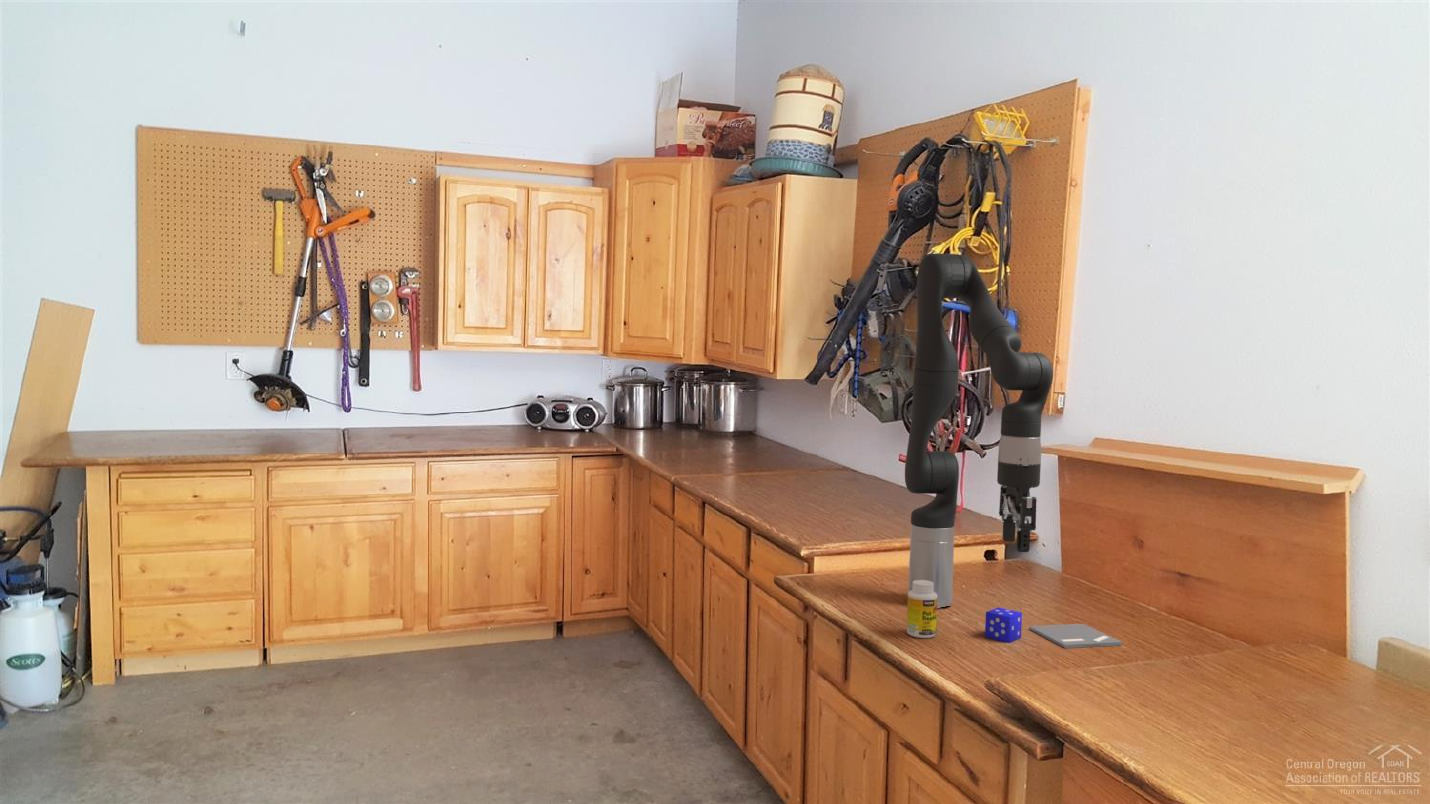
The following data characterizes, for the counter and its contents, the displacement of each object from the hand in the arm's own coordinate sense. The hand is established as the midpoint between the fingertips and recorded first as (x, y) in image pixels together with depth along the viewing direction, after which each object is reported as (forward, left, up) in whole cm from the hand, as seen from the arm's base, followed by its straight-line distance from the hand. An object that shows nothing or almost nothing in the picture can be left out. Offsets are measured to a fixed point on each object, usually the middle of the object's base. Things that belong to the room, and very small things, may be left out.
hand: (1015, 546), depth 169 cm
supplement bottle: (-8, -15, -19) cm, 25 cm away
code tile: (-2, +14, -18) cm, 23 cm away
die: (-4, 0, -19) cm, 19 cm away
